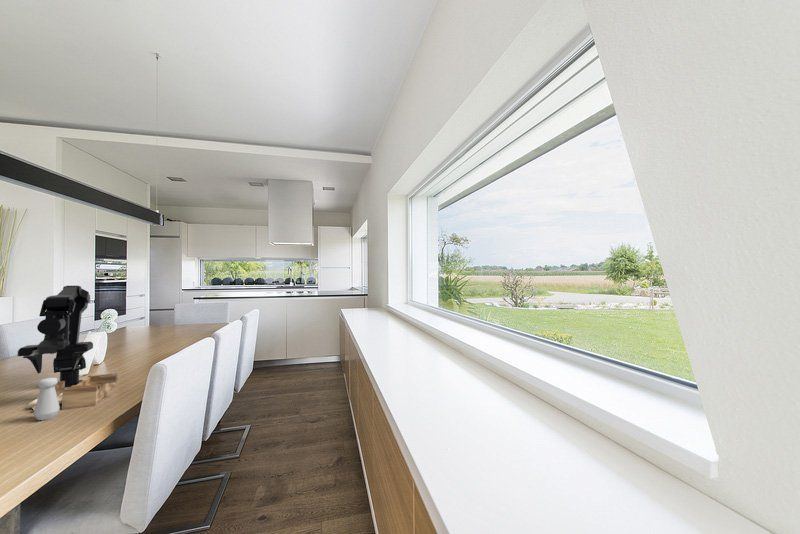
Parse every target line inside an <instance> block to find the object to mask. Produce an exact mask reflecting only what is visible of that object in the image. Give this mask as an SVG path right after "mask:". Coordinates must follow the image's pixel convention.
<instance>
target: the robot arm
mask: <svg viewBox="0 0 800 534" xmlns="http://www.w3.org/2000/svg"><path fill="white" fill-rule="evenodd" d="M90 302H91V295H90V293H89V291H87V290H86V289H83V288H82V286H80V285H65V286H63V288H62V290H60V291H59V293H57V294H56V295H50V296H47V297H46V298H45V299H44V300H43V301H42V305H41V308H40V311H39V316H38V317H44V319H42V320H41V321H39V323H38V324H37V325H36V326H37V327H36V329H37V331H38V332H39V333H41V334H42V335H44V338H43V340H42V341H40V342H39V343H38V344H32V345H31V344H30V345H28V344H27V345H25V346H23V347H20V348H18V350H17V354H16V355H17V357H22V358H23V359H27V360H29V361H30V363H31V364H32V365H33V367H34V369H35V371H36V373H37V374H41V373H42V368H43V355H54V354H56V356H55V357H54V358H53V361H52V365H53V367H52V368H53V373H55V374H56V373H59V381H65V388H69V387H71V386H72V385H77V384H79V383H80V382H81V381H83V380H84V379H80V370H81V371H82V370H84V369H86V368H87V363H86V358H85V356H84V354H85V353H87V352H88V351H90V350H92V349H93V348H94V343H93V342H92V341H81V342H79V341H80V333H81V331H80V330H81V323H82V314H83V313H84V312H85V311H86V310H87V309H88V304H90Z"/></svg>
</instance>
